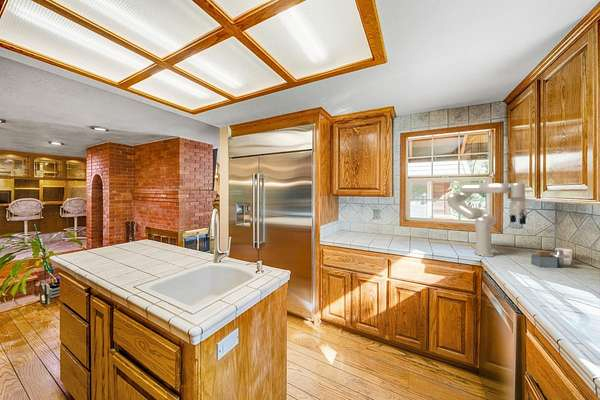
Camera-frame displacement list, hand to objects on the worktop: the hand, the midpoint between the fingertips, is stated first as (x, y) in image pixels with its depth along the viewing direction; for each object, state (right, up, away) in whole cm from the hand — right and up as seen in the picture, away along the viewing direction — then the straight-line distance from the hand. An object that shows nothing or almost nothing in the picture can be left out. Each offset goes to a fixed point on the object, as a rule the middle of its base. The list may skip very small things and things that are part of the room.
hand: (517, 223), depth 163 cm
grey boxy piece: (+12, -28, -11) cm, 33 cm away
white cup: (+26, -28, -6) cm, 39 cm away
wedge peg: (+8, -28, -10) cm, 31 cm away
